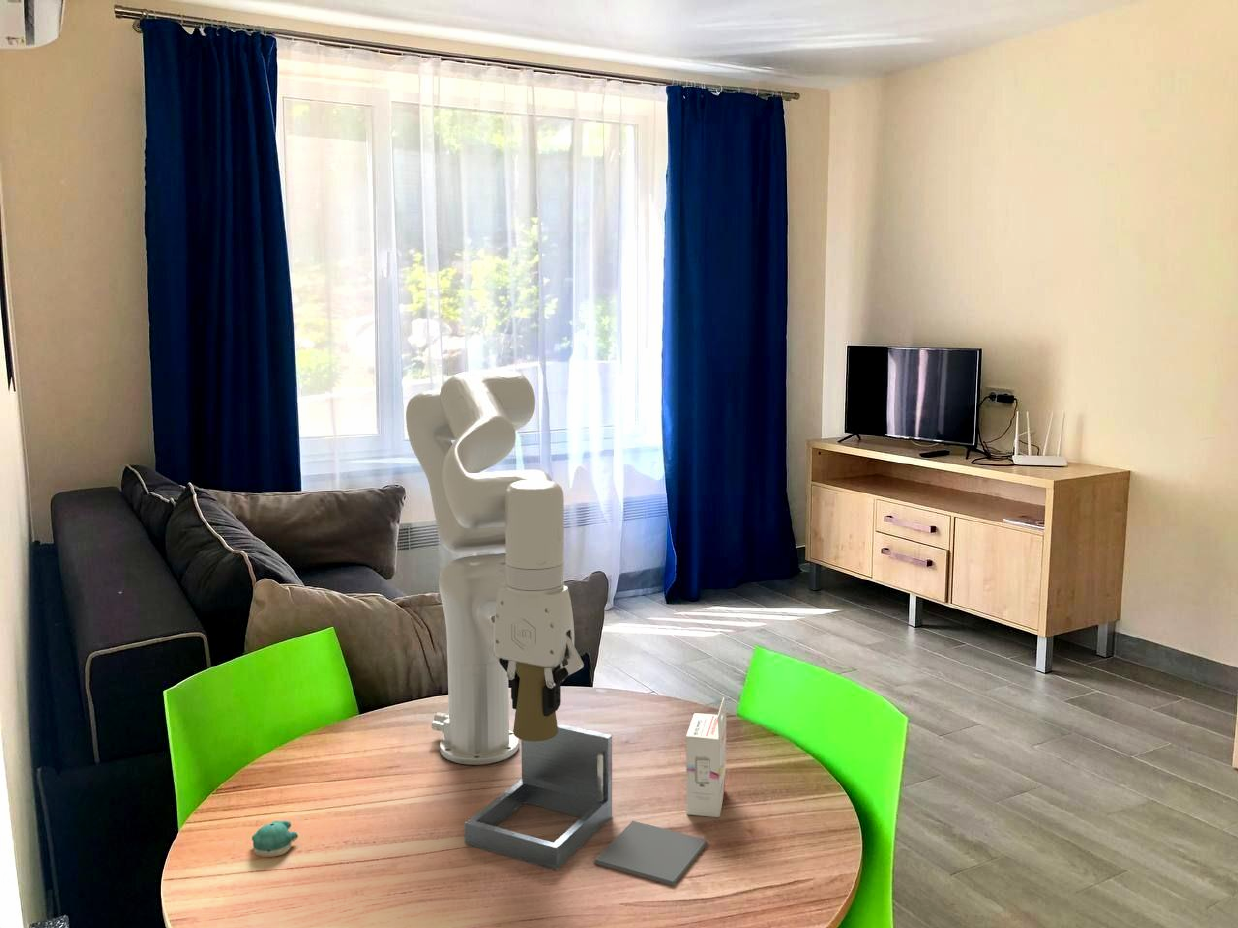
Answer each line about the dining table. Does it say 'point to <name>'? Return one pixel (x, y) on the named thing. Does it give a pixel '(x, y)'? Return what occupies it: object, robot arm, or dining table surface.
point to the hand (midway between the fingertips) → (535, 707)
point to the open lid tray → (552, 796)
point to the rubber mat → (651, 852)
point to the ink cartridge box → (706, 763)
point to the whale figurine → (273, 839)
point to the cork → (532, 706)
